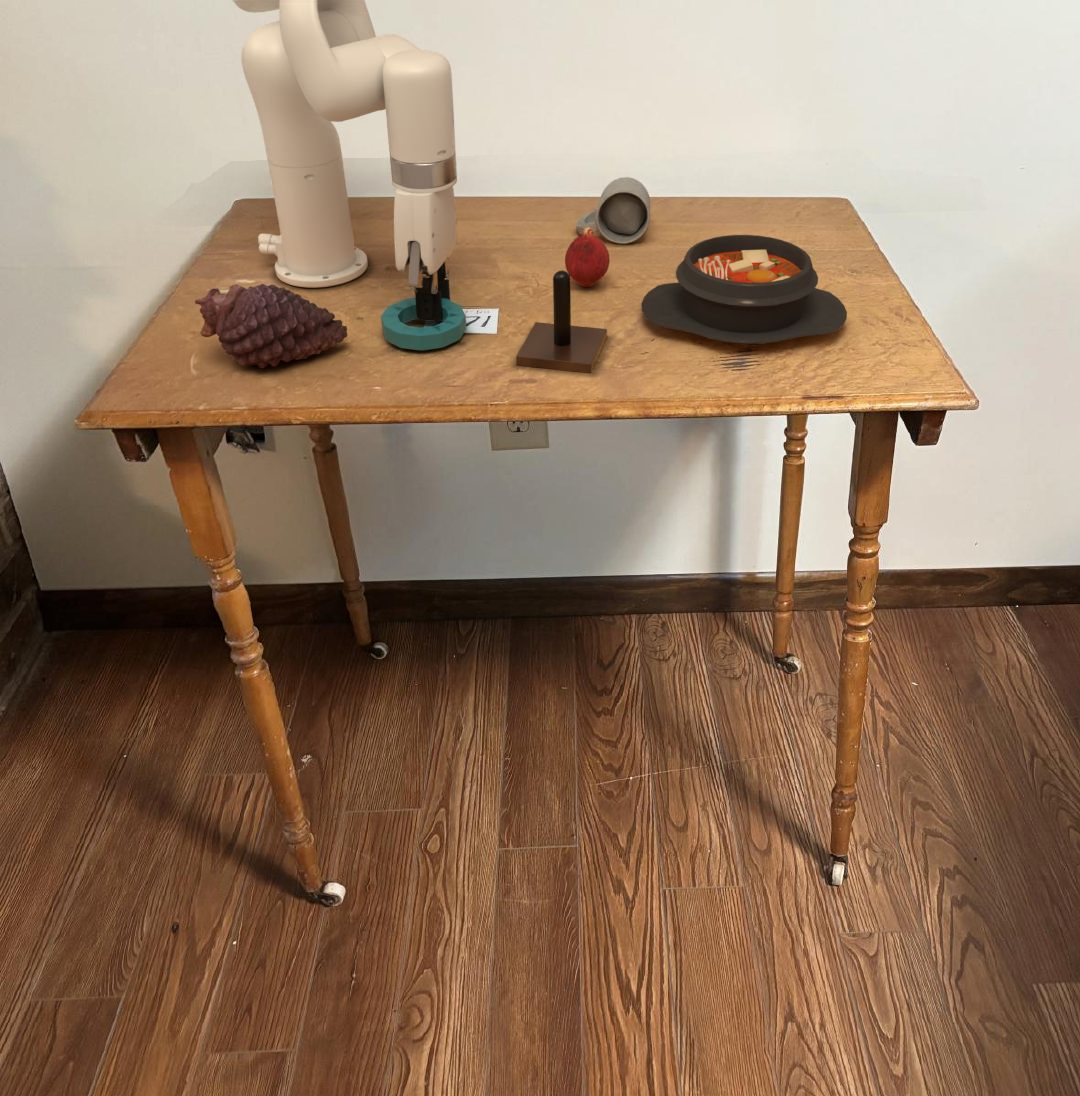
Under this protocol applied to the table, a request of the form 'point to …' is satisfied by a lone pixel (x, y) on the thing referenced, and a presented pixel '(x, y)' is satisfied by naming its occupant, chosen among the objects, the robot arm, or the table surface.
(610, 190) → the ceramic mug
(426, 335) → the ring
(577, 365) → the stand
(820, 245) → the table surface
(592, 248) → the onion
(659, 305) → the casserole
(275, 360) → the pine cone
